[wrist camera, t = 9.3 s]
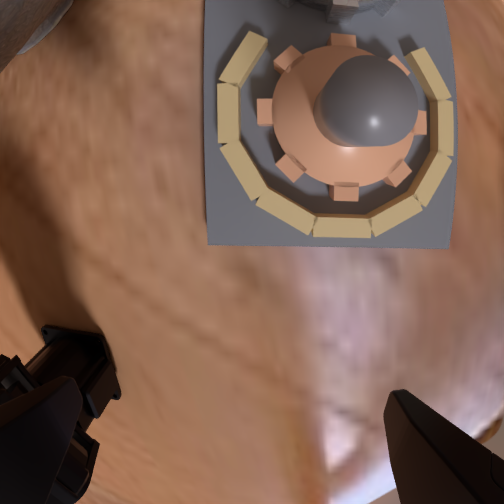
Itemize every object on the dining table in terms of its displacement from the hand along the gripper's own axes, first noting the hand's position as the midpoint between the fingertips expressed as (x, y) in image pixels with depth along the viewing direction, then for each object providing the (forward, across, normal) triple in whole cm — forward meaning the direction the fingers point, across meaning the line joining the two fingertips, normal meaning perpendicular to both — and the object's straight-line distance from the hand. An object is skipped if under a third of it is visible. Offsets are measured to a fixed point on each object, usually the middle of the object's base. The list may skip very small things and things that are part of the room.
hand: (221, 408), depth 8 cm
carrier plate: (+11, -5, -12) cm, 17 cm away
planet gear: (+10, -5, -8) cm, 14 cm away
